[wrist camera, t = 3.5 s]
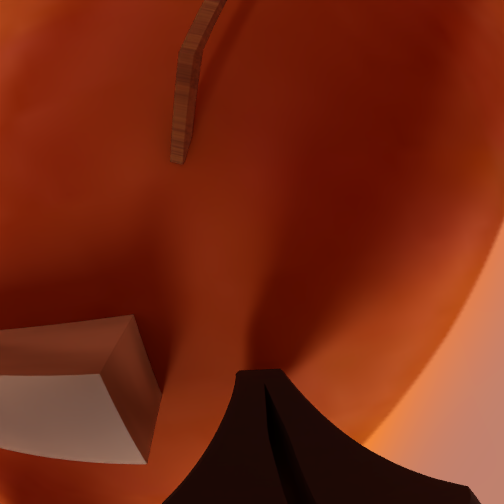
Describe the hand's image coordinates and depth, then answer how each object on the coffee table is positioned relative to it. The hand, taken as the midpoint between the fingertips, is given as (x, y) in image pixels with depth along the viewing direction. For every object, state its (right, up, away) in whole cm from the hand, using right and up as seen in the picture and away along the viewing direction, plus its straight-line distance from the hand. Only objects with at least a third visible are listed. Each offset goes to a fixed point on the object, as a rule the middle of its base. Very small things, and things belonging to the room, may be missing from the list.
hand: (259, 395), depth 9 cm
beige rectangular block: (-8, 0, +1) cm, 8 cm away
